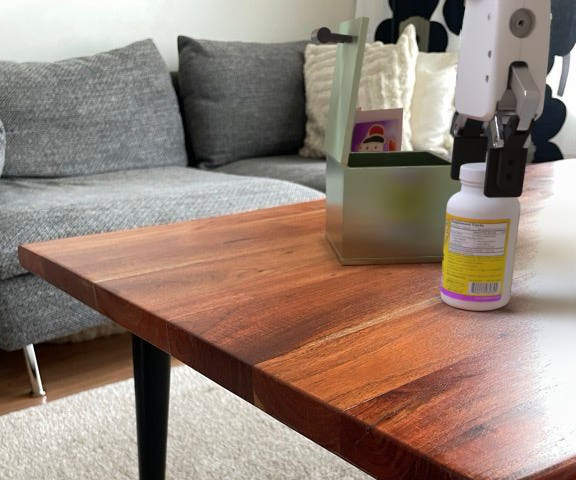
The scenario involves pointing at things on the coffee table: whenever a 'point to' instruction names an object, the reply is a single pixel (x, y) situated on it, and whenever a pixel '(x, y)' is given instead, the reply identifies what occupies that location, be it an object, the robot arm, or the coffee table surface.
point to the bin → (388, 206)
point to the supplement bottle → (478, 245)
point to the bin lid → (343, 83)
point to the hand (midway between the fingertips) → (483, 187)
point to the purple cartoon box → (377, 130)
